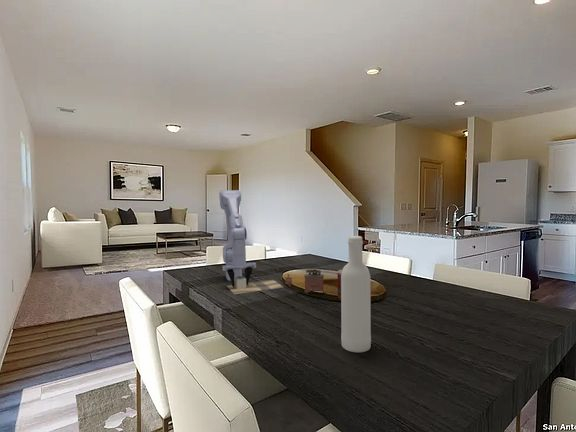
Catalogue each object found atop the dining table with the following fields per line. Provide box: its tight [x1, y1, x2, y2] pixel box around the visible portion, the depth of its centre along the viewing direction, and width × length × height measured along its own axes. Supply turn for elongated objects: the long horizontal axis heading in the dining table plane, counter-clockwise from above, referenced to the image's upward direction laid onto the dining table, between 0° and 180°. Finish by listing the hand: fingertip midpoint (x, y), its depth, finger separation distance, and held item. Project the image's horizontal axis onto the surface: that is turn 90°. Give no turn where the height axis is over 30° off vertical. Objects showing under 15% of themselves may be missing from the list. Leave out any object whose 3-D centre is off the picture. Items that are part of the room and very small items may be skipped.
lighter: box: [304, 268, 325, 294], centre depth 139 cm, size 8×3×10 cm, turn 84°
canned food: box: [336, 268, 343, 301], centre depth 130 cm, size 8×8×11 cm
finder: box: [234, 275, 246, 289], centre depth 146 cm, size 6×4×4 cm, turn 23°
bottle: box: [340, 235, 372, 353], centre depth 89 cm, size 8×8×30 cm
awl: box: [284, 273, 293, 287], centre depth 149 cm, size 3×3×6 cm
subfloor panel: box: [226, 279, 284, 295], centre depth 146 cm, size 14×22×1 cm, turn 113°
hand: (240, 285), depth 146 cm, fingers open, 5 cm apart
